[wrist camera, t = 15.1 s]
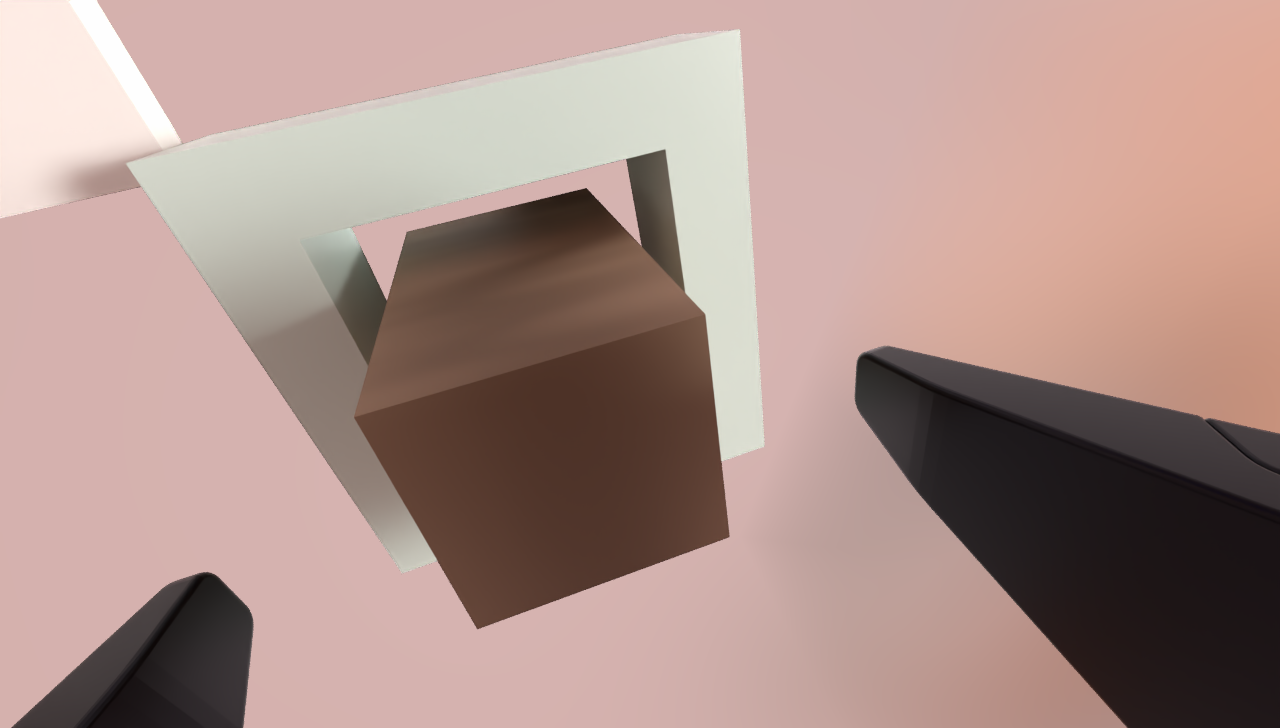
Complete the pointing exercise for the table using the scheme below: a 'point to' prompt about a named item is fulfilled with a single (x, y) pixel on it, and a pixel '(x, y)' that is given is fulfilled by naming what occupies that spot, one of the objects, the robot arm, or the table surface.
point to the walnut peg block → (543, 404)
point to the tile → (70, 106)
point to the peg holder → (452, 171)
